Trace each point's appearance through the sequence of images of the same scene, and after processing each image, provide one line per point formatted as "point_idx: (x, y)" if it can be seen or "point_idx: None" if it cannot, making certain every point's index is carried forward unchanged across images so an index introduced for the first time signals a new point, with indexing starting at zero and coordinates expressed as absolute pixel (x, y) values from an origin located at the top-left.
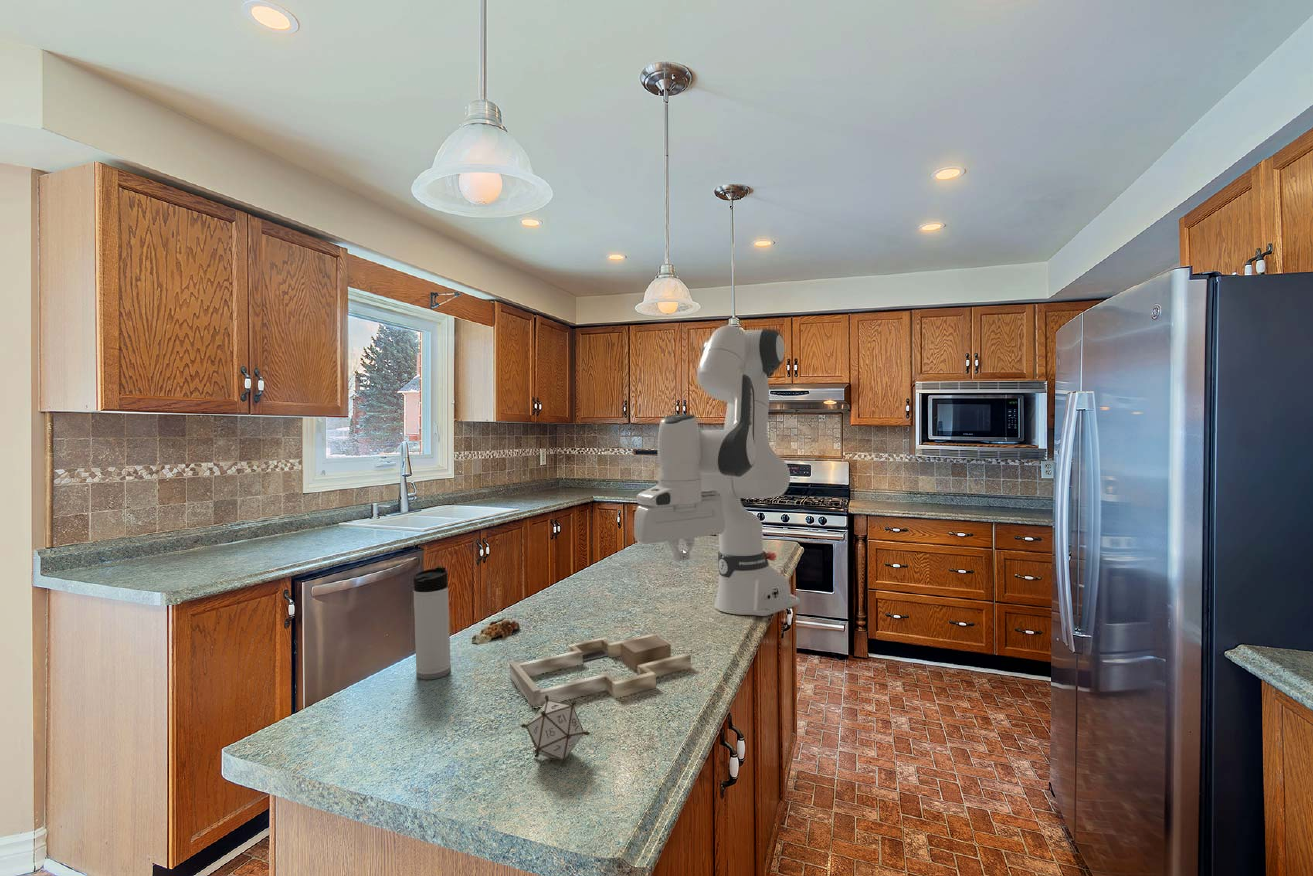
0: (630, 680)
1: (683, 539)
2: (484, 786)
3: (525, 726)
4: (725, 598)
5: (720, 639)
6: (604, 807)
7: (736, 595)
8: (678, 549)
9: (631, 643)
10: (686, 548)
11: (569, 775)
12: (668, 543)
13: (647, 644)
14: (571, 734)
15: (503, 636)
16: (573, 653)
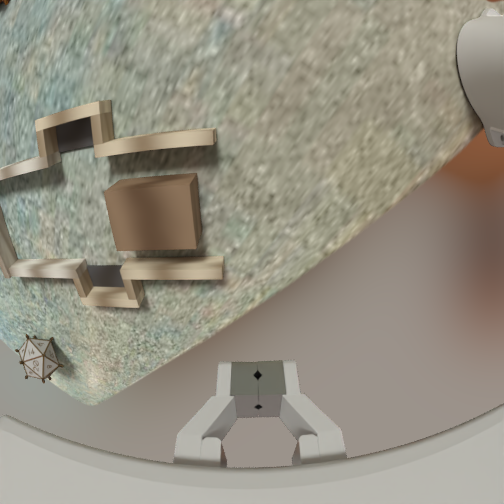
0: (102, 305)
1: (299, 450)
2: (16, 340)
3: (18, 351)
4: (481, 68)
5: (360, 181)
6: (82, 389)
7: (497, 96)
8: (223, 435)
9: (123, 204)
10: (289, 420)
11: (59, 361)
12: (177, 440)
13: (151, 227)
14: (50, 375)
15: (5, 2)
16: (36, 168)
